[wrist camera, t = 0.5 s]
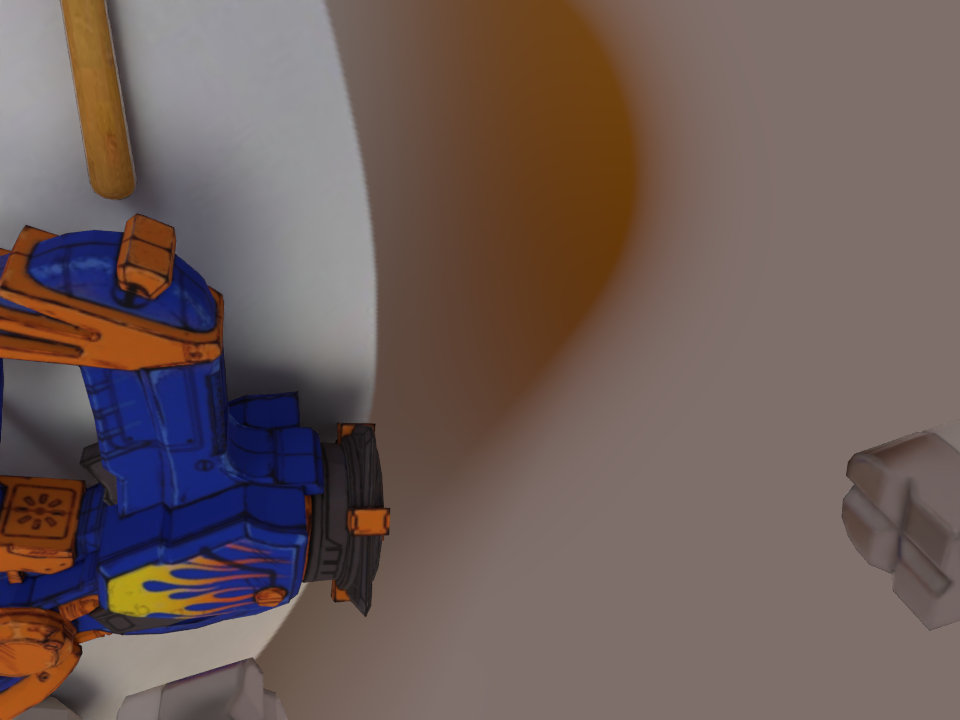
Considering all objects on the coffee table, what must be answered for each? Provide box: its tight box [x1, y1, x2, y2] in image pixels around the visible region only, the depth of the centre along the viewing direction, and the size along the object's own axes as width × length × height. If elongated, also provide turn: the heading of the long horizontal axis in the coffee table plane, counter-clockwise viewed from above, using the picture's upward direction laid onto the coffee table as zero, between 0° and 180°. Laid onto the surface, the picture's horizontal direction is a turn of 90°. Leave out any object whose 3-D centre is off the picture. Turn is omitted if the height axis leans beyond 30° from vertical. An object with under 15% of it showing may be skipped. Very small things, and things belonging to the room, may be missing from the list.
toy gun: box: [0, 213, 390, 720], centre depth 28 cm, size 10×24×20 cm
